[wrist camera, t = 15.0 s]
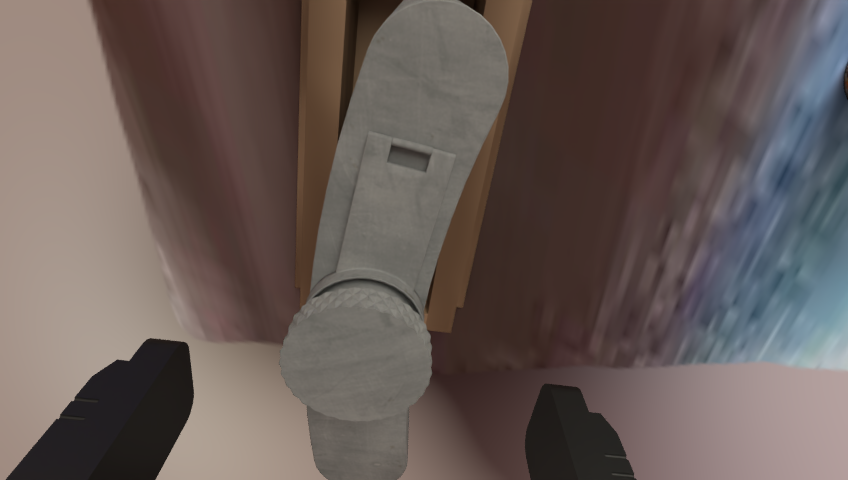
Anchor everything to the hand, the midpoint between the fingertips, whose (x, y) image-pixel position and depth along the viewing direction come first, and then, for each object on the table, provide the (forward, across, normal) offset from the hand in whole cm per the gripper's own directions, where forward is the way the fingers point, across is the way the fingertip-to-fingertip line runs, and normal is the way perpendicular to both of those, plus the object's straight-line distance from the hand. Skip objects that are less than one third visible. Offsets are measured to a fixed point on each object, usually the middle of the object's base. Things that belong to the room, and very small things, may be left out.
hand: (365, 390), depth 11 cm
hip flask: (+20, 0, 0) cm, 21 cm away
